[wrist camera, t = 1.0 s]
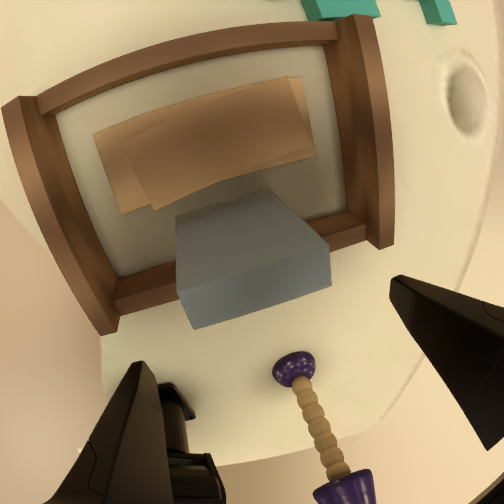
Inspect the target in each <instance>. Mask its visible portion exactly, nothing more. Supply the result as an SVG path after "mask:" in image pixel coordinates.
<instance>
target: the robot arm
mask: <svg viewBox="0 0 504 504" xmlns="http://www.w3.org/2000/svg"><path fill="white" fill-rule="evenodd" d="M389 298H390V301H391V303H392V304H393V306H394V308H395V309H396V311H397V313H398V314H399V316H400V318H401V319H402V321H403V323H404V325H405V326H406V328H407V330H408V331H409V333H410V334H411V336H412V337H413V338H414V340H415V341H416V342H417V344H418V345H419V347H420V348H421V349H422V351H423V352H424V354H425V355H426V356H427V358H428V359H429V361H430V362H431V363H432V365H433V366H434V368H435V369H436V371H437V372H438V373H439V375H440V376H441V378H442V379H443V381H444V383H445V384H446V385H447V387H448V388H449V390H450V392H451V393H452V395H453V396H454V398H455V399H456V401H457V402H458V404H459V405H460V407H461V409H462V410H463V412H464V414H465V415H466V417H467V418H468V420H469V422H470V424H471V425H472V427H473V429H474V430H475V432H476V434H477V435H478V437H479V439H480V440H481V442H482V444H483V446H484V448H485V449H486V450H487V451H488V450H489V449H491V448H492V447H493V446H494V445H495V444H497V443H498V442H499V441H500V440H501V439H502V438H503V437H504V308H503V307H500V306H497V305H493V304H490V303H487V302H484V301H480V300H478V299H475V298H472V297H469V296H466V295H463V294H460V293H457V292H454V291H451V290H448V289H445V288H442V287H439V286H436V285H433V284H429V283H426V282H423V281H420V280H417V279H414V278H411V277H407V276H404V275H398V276H396V277H393V278H392V279H391V282H390V292H389ZM195 418H196V416H195V413H194V411H193V410H192V409H191V408H190V406H189V405H188V404H187V402H186V401H185V400H184V398H183V397H182V396H181V394H180V393H179V391H178V390H177V389H176V387H175V386H174V385H173V384H164V385H160V386H157V383H156V379H155V376H154V374H153V373H152V371H151V370H150V369H149V367H148V366H147V364H146V363H145V362H144V361H137V362H133V363H132V364H131V365H130V367H129V369H128V370H127V372H126V374H125V375H124V377H123V379H122V380H121V382H120V384H119V386H118V387H117V389H116V391H115V393H114V394H113V396H112V398H111V399H110V401H109V403H108V405H107V406H106V409H105V410H104V412H103V414H102V415H101V417H100V419H99V421H98V423H97V424H96V426H95V428H94V430H93V432H92V433H91V435H90V437H89V441H87V443H86V444H85V446H84V448H83V450H82V452H81V453H80V455H79V457H78V459H77V460H76V462H75V464H74V465H73V467H72V468H71V470H70V472H69V473H68V474H67V476H66V477H65V479H64V481H63V482H62V484H61V485H60V487H59V488H58V490H57V491H56V493H55V494H54V495H53V496H52V497H51V499H49V500H48V501H47V502H45V503H43V504H226V494H225V489H224V486H223V483H222V481H221V479H220V476H219V474H218V471H217V469H216V467H215V464H214V462H213V459H212V457H211V454H210V453H204V454H193V453H189V446H188V439H187V431H186V423H185V421H188V420H193V419H195ZM469 504H504V472H503V474H501V475H500V476H499V477H498V478H497V479H496V480H495V481H494V482H493V483H492V484H491V485H490V486H489V487H488V488H486V489H485V490H484V491H483V492H482V493H481V494H480V495H478V496H477V497H476V498H475V499H474V500H473V501H471V502H470V503H469Z"/></svg>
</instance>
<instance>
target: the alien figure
mask: <svg viewBox="0 0 504 504" xmlns="http://www.w3.org/2000/svg"><path fill="white" fill-rule="evenodd" d="M301 2H302V5H303V7H304V10H305V12H306V15H307V18H308V20H309V21H330V22H335V21H337V20H340V19H342V18H344V17H347V16H349V15H351V14H361V15H370V16H372V19H374V18H377V17H380V16H381V15H380V12H379V9H378V7H377V4H376V2H375V0H301ZM419 2H420V5H421V8H422V10H423V13H424V16H425V19H426V22H427V24H433V25H441V26H445V25H455V24H457V22H456V19H455V16H454V13H453V10H452V7H451V4H450V1H448V0H419Z"/></svg>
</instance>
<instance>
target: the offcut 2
mask: <svg viewBox="0 0 504 504" xmlns="http://www.w3.org/2000/svg"><path fill="white" fill-rule="evenodd" d="M121 145H122V147H123V150H124V152H125V154H126V156H127V158H128V160H129V162H130V164H131V166H132V168H133V170H134V172H135V174H136V176H137V178H138V181H139V183H140V185H141V186H142V188H143V190H144V192H145V194H146V196H147V198H148V200H149V202H150V204H151V206H152V208H153V210H154V211H156V210H158V209H160V208H162V207H164V206H166V205H168V204H170V203H172V202H175V201H177V200H179V199H181V198H183V197H185V196H187V195H189V194H192V193H194V192H196V191H198V190H200V189H203V188H205V187H207V186H209V185H212V184H214V183H216V182H218V181H221V180H223V179H225V178H228V177H230V176H232V175H235V174H237V173H239V172H242V171H244V170H247V169H249V168H252V167H254V166H256V165H259V164H261V163H264V162H266V161H269V160H272V159H274V158H277V157H279V156H282V155H284V154H287V153H290V152H292V151H295V150H298V149H301V148H303V147H306V146H309V145H310V142H309V139H308V135H307V132H306V129H305V126H304V123H303V120H302V117H301V114H300V111H299V108H298V105H297V102H296V99H295V96H294V93H293V91H292V88H291V85H290V82H289V79H288V77H287V76H286V77H282V78H279V79H275V80H272V81H269V82H265V83H262V84H259V85H256V86H253V87H250V88H247V89H244V90H241V91H238V92H235V93H232V94H229V95H227V96H224V97H221V98H219V99H216V100H213V101H211V102H208V103H206V104H203V105H201V106H198V107H196V108H194V109H191V110H189V111H187V112H184V113H182V114H180V115H177V116H175V117H173V118H171V119H169V120H166V121H164V122H162V123H160V124H158V125H156V126H154V127H152V128H150V129H148V130H146V131H144V132H142V133H140V134H138V135H136V136H134V137H132V138H130V139H128V140H126V141H125V142H123V143H121Z"/></svg>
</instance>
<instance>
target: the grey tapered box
mask: <svg viewBox="0 0 504 504" xmlns="http://www.w3.org/2000/svg"><path fill="white" fill-rule="evenodd" d="M329 286H332V284H331V267H330V253H329V245H328V244H327V243H326V242H325V241H324V240H323V239H322V238H321V237H320V236H319V235H318V234H317V233H316V232H315V231H314V230H313V229H312V228H311V227H310V226H309V225H308V224H307V223H306V222H304V221H303V220H302V219H301V218H300V217H299V216H298V215H297V214H296V213H295V212H294V211H293V210H292V209H291V208H290V207H288V206H287V205H286V204H285V203H284V202H283V201H282V200H281V199H280V198H279V197H278V196H276V195H275V194H274V193H273V192H272V191H271V190H266V191H262V192H259V193H255V194H251V195H248V196H244V197H241V198H237V199H233V200H230V201H226V202H223V203H220V204H216V205H213V206H209V207H206V208H203V209H199V210H196V211H193V212H190V213H186V214H183V215H180V216H177V217H176V290H177V294H178V296H179V299H180V301H181V303H182V305H183V308H184V310H185V312H186V314H187V316H188V319H189V321H190V323H191V325H192V327H193V329H194V330H196V329H199V328H203V327H206V326H209V325H213V324H216V323H220V322H223V321H226V320H230V319H233V318H236V317H239V316H243V315H246V314H249V313H252V312H255V311H259V310H262V309H265V308H268V307H271V306H274V305H277V304H280V303H283V302H286V301H289V300H292V299H295V298H298V297H301V296H304V295H306V294H309V293H312V292H315V291H318V290H321V289H323V288H326V287H329Z"/></svg>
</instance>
